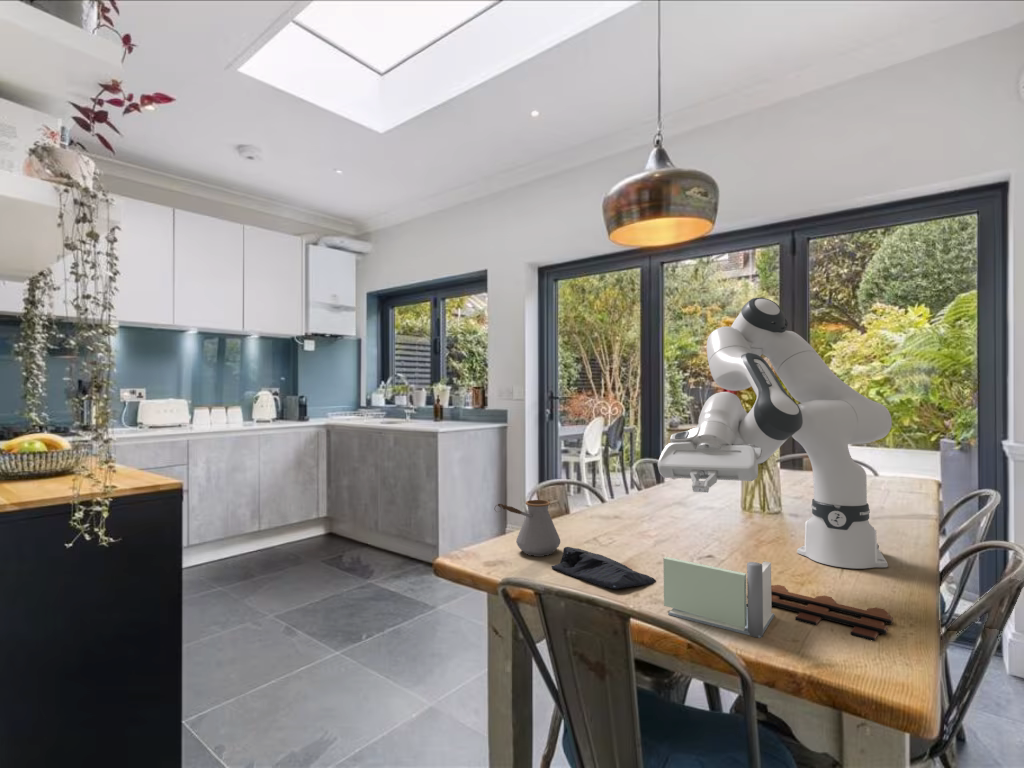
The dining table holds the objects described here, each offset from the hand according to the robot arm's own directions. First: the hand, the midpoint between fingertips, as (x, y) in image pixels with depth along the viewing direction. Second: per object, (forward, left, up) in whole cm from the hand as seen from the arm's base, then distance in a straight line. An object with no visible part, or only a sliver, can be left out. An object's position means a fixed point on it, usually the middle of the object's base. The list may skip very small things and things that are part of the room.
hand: (699, 490), depth 111 cm
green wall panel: (+12, +4, -21) cm, 24 cm away
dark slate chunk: (+1, -22, -22) cm, 31 cm away
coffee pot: (0, -44, -22) cm, 49 cm away
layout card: (+8, +6, -21) cm, 24 cm away
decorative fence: (-6, +20, -22) cm, 31 cm away
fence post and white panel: (+8, +13, -21) cm, 26 cm away
